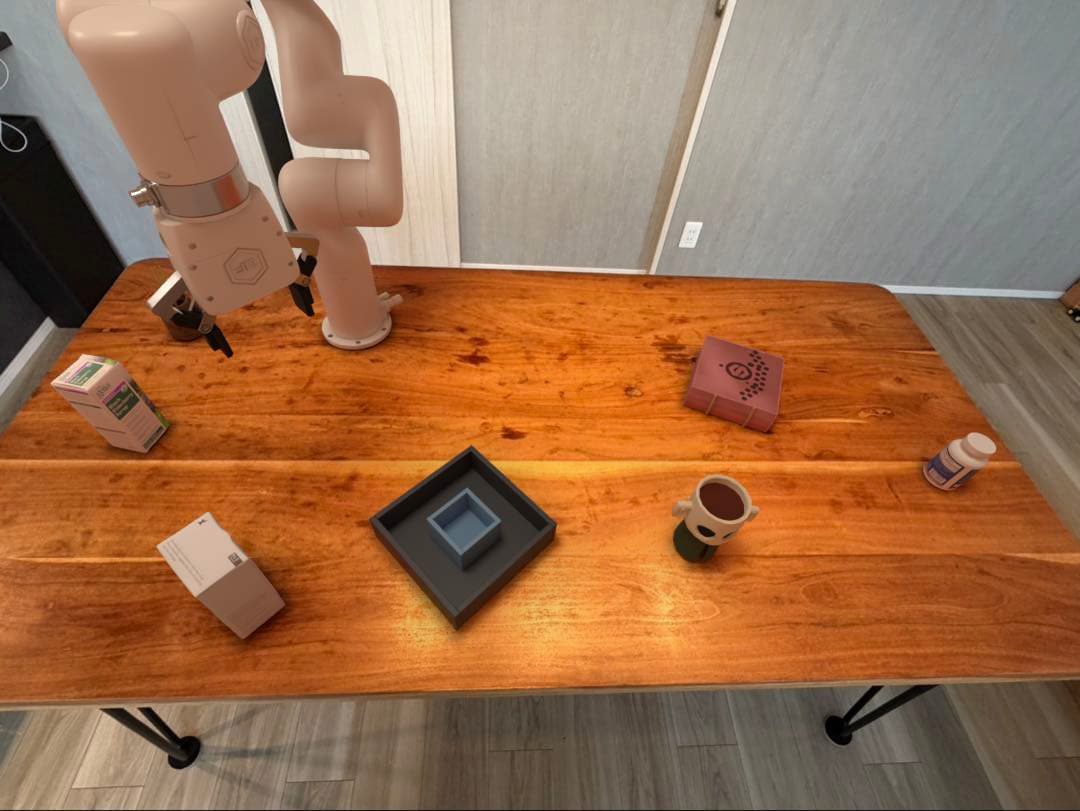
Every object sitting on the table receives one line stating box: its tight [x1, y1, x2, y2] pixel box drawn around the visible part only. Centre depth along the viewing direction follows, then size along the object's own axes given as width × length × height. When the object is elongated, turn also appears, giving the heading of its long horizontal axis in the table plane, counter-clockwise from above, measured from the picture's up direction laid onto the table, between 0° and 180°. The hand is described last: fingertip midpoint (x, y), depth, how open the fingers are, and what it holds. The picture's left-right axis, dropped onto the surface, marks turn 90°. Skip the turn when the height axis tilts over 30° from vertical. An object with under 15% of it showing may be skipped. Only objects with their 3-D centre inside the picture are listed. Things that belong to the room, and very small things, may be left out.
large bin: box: [368, 444, 558, 631], centre depth 70 cm, size 18×18×5 cm
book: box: [683, 334, 786, 433], centre depth 92 cm, size 14×15×5 cm
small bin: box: [427, 488, 502, 571], centre depth 70 cm, size 7×7×5 cm
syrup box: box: [50, 353, 171, 454], centre depth 74 cm, size 6×6×14 cm
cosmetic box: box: [156, 511, 286, 640], centre depth 59 cm, size 8×6×15 cm
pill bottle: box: [922, 432, 997, 492], centre depth 81 cm, size 5×5×10 cm
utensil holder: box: [149, 264, 203, 341], centre depth 90 cm, size 6×6×12 cm
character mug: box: [671, 473, 761, 564], centre depth 69 cm, size 11×7×13 cm, turn 88°
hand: (266, 329), depth 58 cm, fingers open, 9 cm apart
